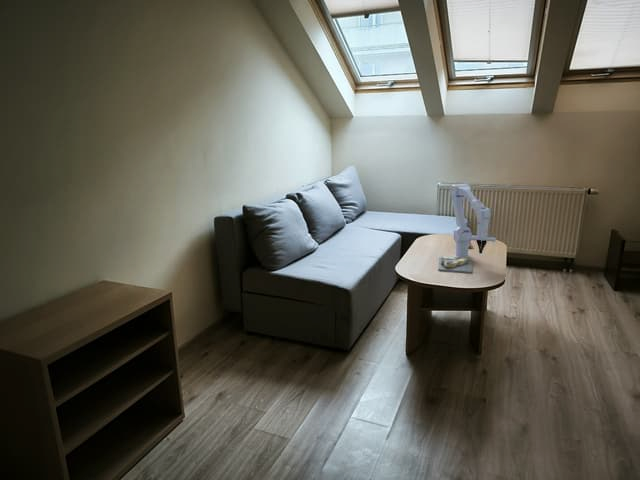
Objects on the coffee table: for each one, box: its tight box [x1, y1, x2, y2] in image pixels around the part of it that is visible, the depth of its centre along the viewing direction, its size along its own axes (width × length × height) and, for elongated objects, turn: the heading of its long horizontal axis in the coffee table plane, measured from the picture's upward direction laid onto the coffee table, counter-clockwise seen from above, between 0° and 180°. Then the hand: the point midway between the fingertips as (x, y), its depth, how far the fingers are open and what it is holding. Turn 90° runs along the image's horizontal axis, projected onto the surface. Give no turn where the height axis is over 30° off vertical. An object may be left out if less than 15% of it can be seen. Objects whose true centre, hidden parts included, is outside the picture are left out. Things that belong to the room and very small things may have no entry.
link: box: [444, 258, 470, 268], centre depth 255 cm, size 18×4×3 cm, turn 124°
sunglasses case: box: [468, 241, 475, 250], centre depth 296 cm, size 18×7×7 cm, turn 171°
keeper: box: [440, 255, 454, 265], centre depth 256 cm, size 3×6×4 cm, turn 74°
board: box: [437, 257, 473, 274], centre depth 257 cm, size 21×18×1 cm
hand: (480, 252), depth 255 cm, fingers closed
